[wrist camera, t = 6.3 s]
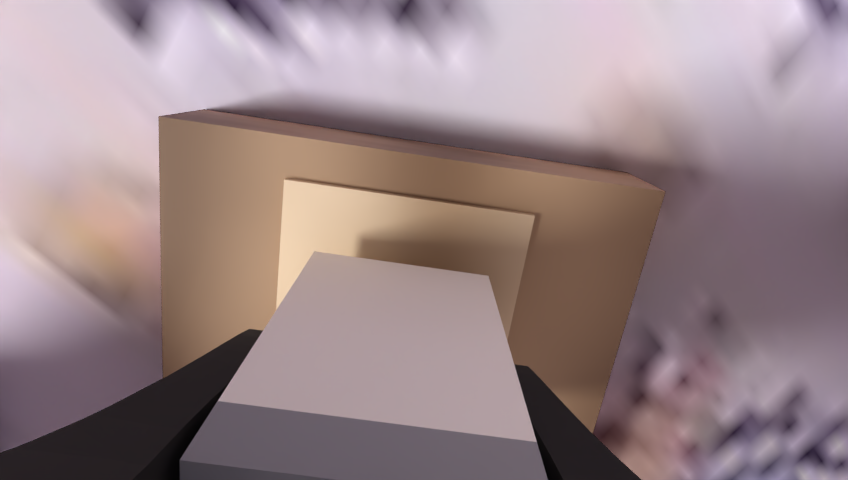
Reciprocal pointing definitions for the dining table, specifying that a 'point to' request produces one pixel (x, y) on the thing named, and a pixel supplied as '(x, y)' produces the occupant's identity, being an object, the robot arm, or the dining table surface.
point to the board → (398, 235)
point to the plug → (373, 384)
